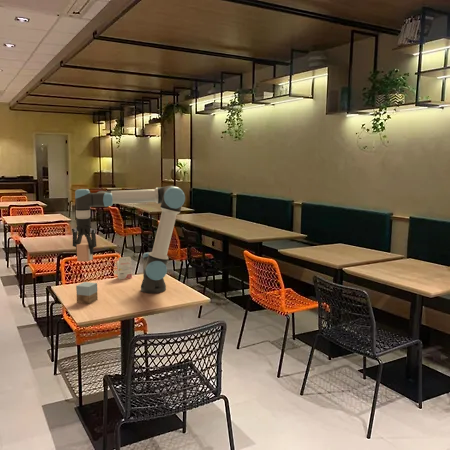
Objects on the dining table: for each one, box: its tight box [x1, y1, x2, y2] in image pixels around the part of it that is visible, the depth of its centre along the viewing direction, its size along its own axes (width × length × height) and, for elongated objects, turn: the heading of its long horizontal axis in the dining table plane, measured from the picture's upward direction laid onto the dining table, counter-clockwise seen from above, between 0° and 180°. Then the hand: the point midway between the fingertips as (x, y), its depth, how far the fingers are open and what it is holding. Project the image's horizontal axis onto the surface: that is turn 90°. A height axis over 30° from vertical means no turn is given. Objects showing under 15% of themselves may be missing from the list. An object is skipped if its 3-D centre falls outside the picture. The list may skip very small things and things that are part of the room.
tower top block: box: [75, 281, 98, 296], centre depth 249 cm, size 8×8×5 cm
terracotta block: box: [76, 242, 94, 263], centre depth 245 cm, size 6×6×9 cm
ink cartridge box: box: [116, 256, 133, 280], centre depth 298 cm, size 9×5×15 cm, turn 118°
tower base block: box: [76, 291, 98, 305], centre depth 249 cm, size 8×8×5 cm
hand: (85, 259), depth 246 cm, fingers closed on terracotta block, 6 cm apart
